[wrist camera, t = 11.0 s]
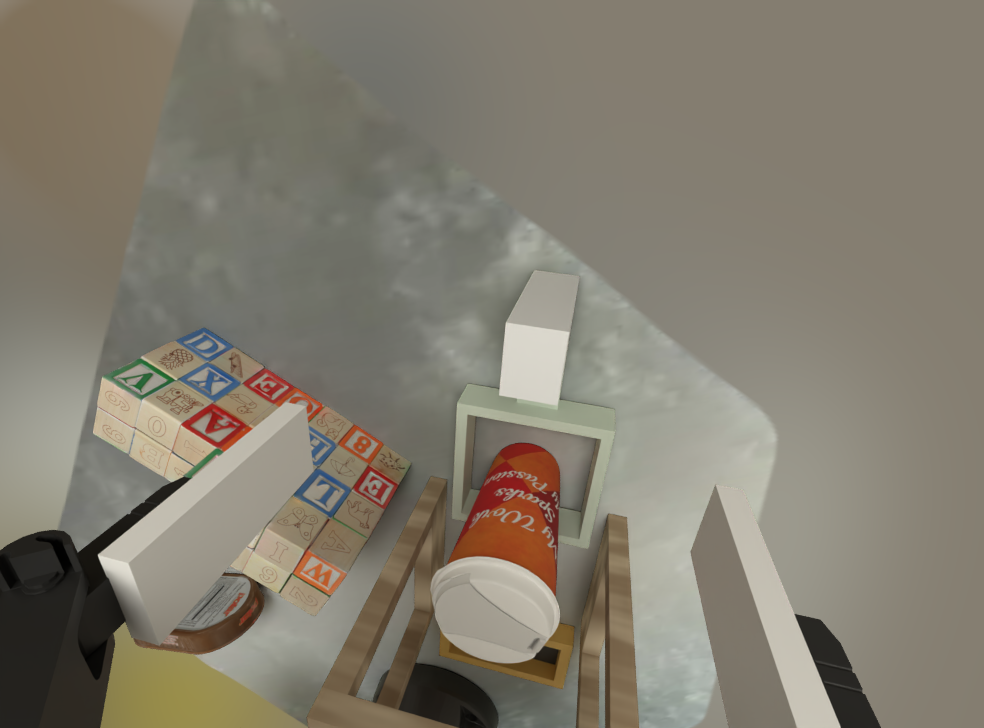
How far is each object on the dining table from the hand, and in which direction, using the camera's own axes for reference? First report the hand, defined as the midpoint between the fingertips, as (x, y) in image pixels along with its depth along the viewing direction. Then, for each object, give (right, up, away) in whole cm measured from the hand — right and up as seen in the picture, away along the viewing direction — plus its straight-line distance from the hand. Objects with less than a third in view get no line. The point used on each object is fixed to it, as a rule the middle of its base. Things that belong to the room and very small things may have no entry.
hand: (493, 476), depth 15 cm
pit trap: (+1, -24, +33) cm, 41 cm away
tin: (-32, -22, +40) cm, 56 cm away
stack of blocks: (-17, -1, +27) cm, 32 cm away
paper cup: (+3, -5, +24) cm, 24 cm away
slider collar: (+3, 0, +20) cm, 21 cm away
